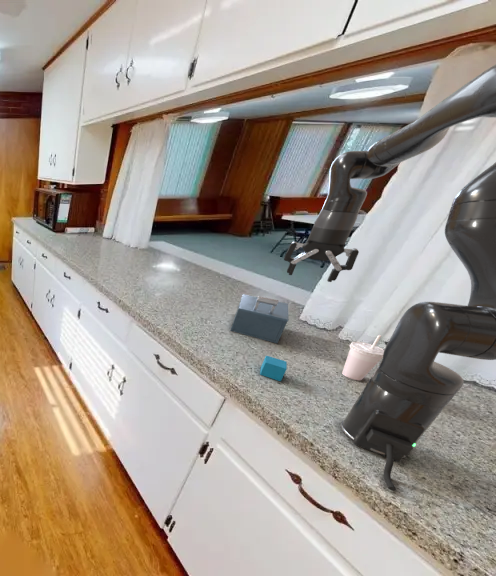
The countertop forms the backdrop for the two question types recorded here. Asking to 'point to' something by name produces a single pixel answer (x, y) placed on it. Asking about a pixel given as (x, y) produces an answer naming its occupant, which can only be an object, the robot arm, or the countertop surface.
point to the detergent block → (273, 368)
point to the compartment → (258, 326)
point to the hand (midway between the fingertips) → (309, 277)
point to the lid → (264, 307)
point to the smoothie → (362, 359)
